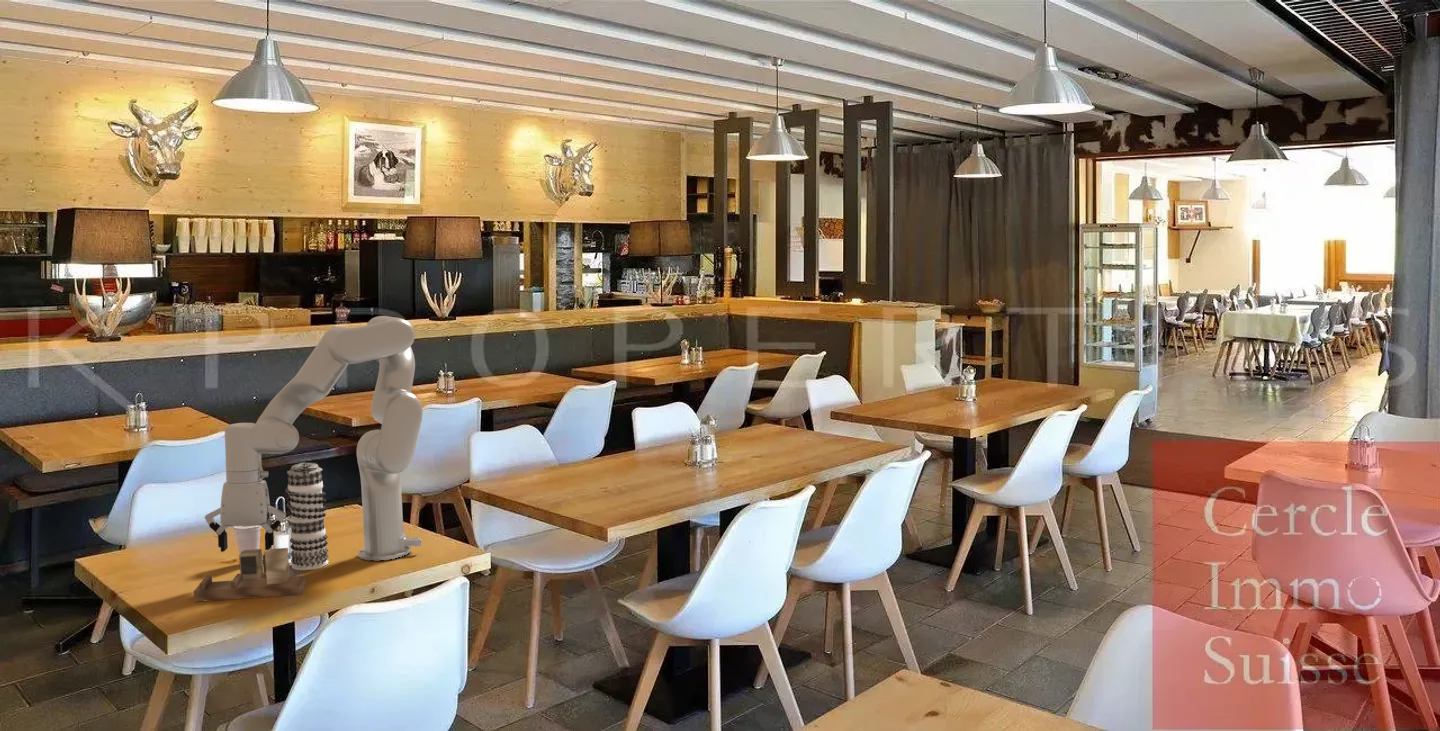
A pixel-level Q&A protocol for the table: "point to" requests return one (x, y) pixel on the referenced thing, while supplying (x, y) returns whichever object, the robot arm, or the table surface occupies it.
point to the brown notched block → (255, 581)
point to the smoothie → (247, 537)
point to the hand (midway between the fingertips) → (246, 549)
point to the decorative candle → (307, 516)
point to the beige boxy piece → (251, 564)
